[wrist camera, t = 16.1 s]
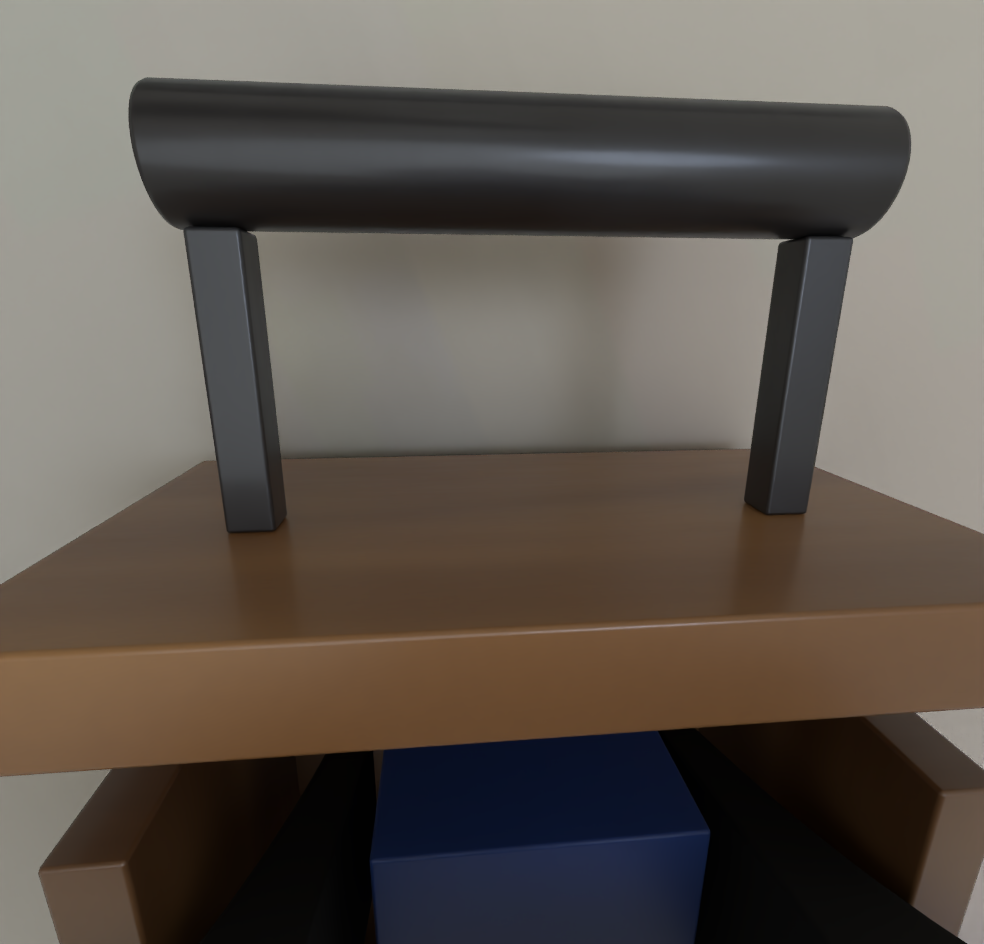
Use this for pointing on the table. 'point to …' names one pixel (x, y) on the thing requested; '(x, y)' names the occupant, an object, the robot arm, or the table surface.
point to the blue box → (537, 844)
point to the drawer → (494, 520)
